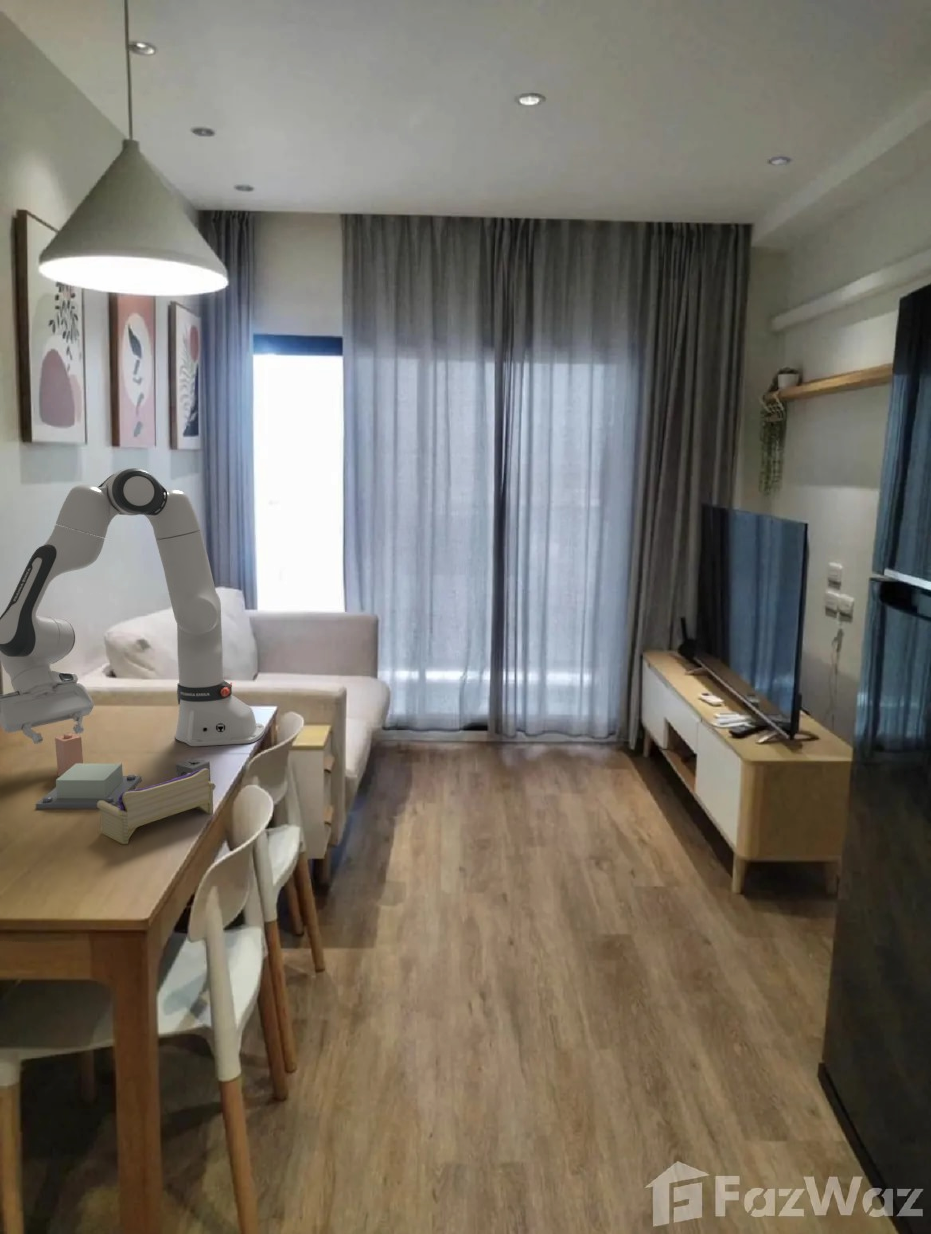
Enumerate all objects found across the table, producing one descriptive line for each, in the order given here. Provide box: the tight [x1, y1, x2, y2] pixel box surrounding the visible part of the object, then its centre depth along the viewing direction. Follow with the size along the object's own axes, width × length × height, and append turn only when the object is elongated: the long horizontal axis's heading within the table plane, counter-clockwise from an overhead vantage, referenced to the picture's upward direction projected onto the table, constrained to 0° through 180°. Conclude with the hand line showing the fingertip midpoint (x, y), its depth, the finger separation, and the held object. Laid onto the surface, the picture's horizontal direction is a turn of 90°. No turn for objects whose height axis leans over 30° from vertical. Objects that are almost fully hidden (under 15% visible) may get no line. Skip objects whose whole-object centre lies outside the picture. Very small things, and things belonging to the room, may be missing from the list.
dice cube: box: [175, 757, 212, 782], centre depth 190 cm, size 5×5×5 cm
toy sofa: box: [97, 768, 216, 845], centre depth 170 cm, size 21×9×10 cm, turn 141°
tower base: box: [35, 762, 143, 810], centre depth 184 cm, size 16×16×5 cm
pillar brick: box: [54, 733, 84, 777], centre depth 194 cm, size 4×4×10 cm
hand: (59, 737), depth 196 cm, fingers open, 8 cm apart
